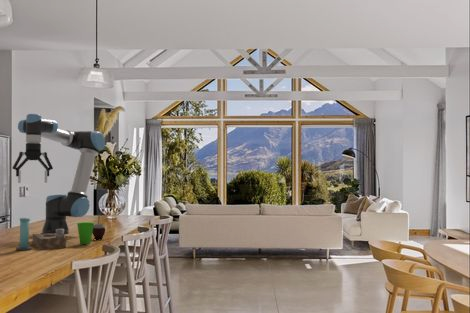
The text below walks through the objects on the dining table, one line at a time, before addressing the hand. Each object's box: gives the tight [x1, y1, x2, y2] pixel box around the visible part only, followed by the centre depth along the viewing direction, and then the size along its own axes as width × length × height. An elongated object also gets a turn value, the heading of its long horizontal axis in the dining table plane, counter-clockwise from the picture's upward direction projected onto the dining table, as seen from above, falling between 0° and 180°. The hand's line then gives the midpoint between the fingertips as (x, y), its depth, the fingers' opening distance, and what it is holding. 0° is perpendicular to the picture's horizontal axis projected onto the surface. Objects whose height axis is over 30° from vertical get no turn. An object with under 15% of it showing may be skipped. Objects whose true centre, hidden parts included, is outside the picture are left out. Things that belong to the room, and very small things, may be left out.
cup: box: [76, 221, 96, 245], centre depth 283 cm, size 9×9×11 cm
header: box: [31, 229, 67, 250], centre depth 275 cm, size 12×20×9 cm, turn 32°
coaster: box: [15, 246, 33, 252], centre depth 261 cm, size 7×7×1 cm
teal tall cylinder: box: [19, 217, 31, 248], centre depth 261 cm, size 5×5×14 cm
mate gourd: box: [92, 213, 106, 240], centre depth 302 cm, size 8×8×15 cm
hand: (32, 182), depth 289 cm, fingers open, 13 cm apart
